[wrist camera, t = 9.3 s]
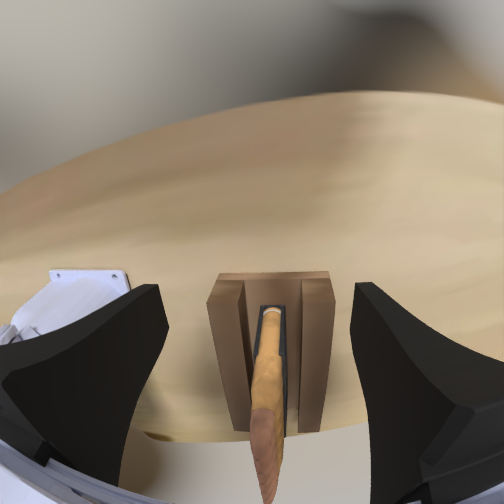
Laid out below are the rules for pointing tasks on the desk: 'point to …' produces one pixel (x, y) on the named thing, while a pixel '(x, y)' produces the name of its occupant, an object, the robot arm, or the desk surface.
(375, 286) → the robot arm
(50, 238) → the desk surface
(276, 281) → the walnut rack
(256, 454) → the ammunition clip
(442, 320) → the desk surface
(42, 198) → the desk surface
